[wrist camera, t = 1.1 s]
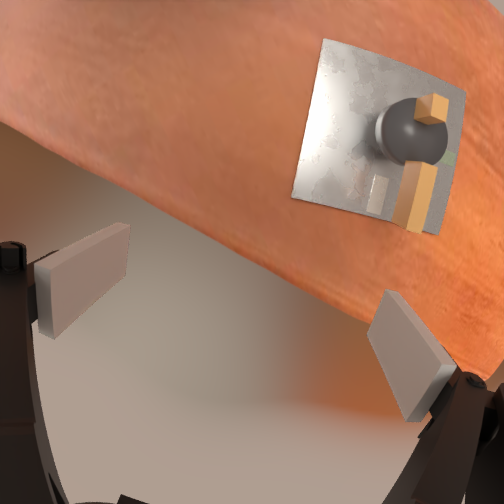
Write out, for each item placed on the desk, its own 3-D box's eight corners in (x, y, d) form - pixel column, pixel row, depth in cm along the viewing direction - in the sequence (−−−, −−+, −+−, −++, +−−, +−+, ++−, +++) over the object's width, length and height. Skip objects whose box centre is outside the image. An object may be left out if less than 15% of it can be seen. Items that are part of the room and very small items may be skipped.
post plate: (322, 41, 34) (329, 24, 28) (462, 93, 34) (484, 87, 28) (290, 196, 41) (293, 202, 35) (434, 233, 41) (454, 244, 35)
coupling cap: (381, 93, 30) (407, 79, 23) (437, 115, 30) (471, 109, 23) (357, 208, 34) (378, 222, 27) (413, 224, 34) (444, 240, 27)
